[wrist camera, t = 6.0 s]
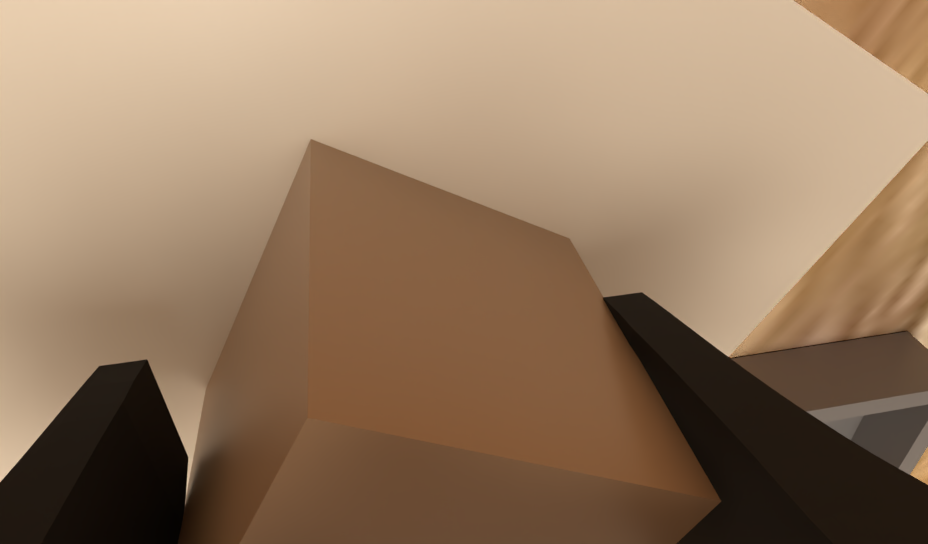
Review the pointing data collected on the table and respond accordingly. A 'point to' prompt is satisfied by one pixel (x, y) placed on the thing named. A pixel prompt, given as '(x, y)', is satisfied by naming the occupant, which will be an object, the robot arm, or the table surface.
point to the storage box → (858, 390)
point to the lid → (418, 242)
